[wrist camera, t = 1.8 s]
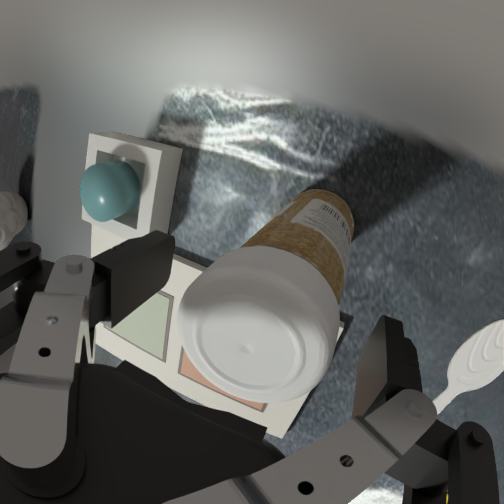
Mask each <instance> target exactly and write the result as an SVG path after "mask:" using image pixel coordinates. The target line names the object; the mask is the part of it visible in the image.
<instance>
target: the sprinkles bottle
mask: <svg viewBox="0 0 504 504" xmlns="http://www.w3.org/2000/svg"><path fill="white" fill-rule="evenodd" d="M353 233H354V218H353V216H352V212H351V210H350V209H349V207H348V205H347V203H346V202H345V201H344V200H343V199H342V198H341V197H339V196H338V195H337V194H335V193H332V192H330V191H327V190H321V189H311V190H307V191H305V192H302V193H300V194H299V195H298V196H296V197H295V198H294V199H293V200H291V202H290V203H289V204H288V205H287V206H285V207H284V208H283V209H281V210H280V211H279V212H278V213H277V214H276V215H274V216H273V217H272V218H271V219H270V220H269V221H268V222H267V223H266V224H265V226H264V227H263V228H262V229H261V230H259V231H258V232H257V233H256V234H255V235H254V236H253V237H251V238H250V239H249V240H248V241H247V242H246V243H245V244H244V245H242V246H241V247H240V248H239V249H236V250H233V251H231V252H228V253H227V254H225V255H223V256H221V257H220V258H219V259H217V260H216V261H215V262H214V263H213V264H211V265H210V266H209V267H208V268H207V269H206V270H205V271H204V272H202V273H201V274H200V275H199V276H198V277H197V278H196V279H195V280H194V281H193V282H192V283H191V284H190V285H189V287H188V288H187V290H186V291H185V293H184V295H183V297H182V299H181V302H180V305H179V309H178V315H177V326H178V333H179V337H180V341H181V344H182V346H183V348H184V350H185V352H186V354H187V356H188V358H189V359H190V361H191V362H192V364H193V365H194V366H195V367H196V369H197V370H198V371H199V372H200V373H201V374H202V375H203V376H204V377H205V378H206V379H207V380H209V381H210V382H211V383H212V384H214V385H215V386H217V387H218V388H220V389H221V390H223V391H225V392H227V393H229V394H231V395H233V396H236V397H238V398H241V399H244V400H248V401H253V402H258V403H279V402H285V401H290V400H293V399H296V398H298V397H301V396H303V395H304V394H306V393H308V392H310V391H311V390H312V389H313V388H314V387H316V386H317V385H318V384H319V382H320V381H321V380H322V379H323V378H324V376H325V374H326V373H327V371H328V369H329V366H330V364H331V361H332V357H333V354H334V350H335V347H336V342H337V337H338V332H339V325H340V313H339V306H338V305H339V301H340V297H341V295H342V292H343V289H344V284H345V279H346V273H347V267H348V261H349V255H350V247H351V239H352V237H353Z"/></svg>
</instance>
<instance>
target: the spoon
mask: <svg viewBox="0 0 504 504" xmlns="http://www.w3.org/2000/svg"><path fill="white" fill-rule="evenodd" d="M503 369H504V319H501V320H497V321H494V322H493V323H490V324H488V325H487V326H485V327H483V328H482V329H481V330H479V331H477V332H476V333H475V334H473V335H472V336H471V337H470V338H468V340H466V341H465V342H464V343H463V344H462V345H461V347H460V348H459V349H458V350H457V351H456V352H455V354H454V356H453V358H452V359H451V361H450V363H449V367H448V372H447V376H448V377H447V378H448V381H449V383H448V387H447V388H446V390H445V391H443V392H442V393H441V394H440V395H439V396H438V397H437V398H436V399H434V400H433V401H432V402H433V403H434V405H435V407H436V410H437V414H439V413H441V410H443V409H444V407H445V406H446V405H447V404H449V403H450V402H451V400H452V399H454V398H455V397H456V396H457V395H459V394H460V393H462V392H463V393H464V392H465V391H466V392H467V391H468V392H469V391H472V390H475V389H478V388H481V387H483V386H485V385H487V384H488V383H491V381H493V380H494V378H496V377H497V376H499V375H500V373H501V372H502V371H504V370H503Z"/></svg>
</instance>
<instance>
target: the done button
mask: <svg viewBox="0 0 504 504" xmlns="http://www.w3.org/2000/svg"><path fill="white" fill-rule="evenodd" d="M80 196H81V201H82V204H83V206H84V208H85V210H86V212H87V213H88V214H89V216H91V217H92V218H93V219H94V220H96V221H99V222H106V221H109V220H112V219H114V218H117V217H119V216H122V215H125V214H127V213H130V212H131V211H132V210H133V209H134V208H135V207H136V205H137V203H138V201H139V197H140V183H139V179H138V176H137V174H136V172H135V171H134V169H133V168H132V167H131V166H130V165H129V164H128V163H126V162H124V161H120V160H117V161H111V162H105V163H100V164H94V165H91V166H90V167H88V168H87V169H86V170H85V172H84V174H83V176H82V178H81V182H80Z"/></svg>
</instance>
